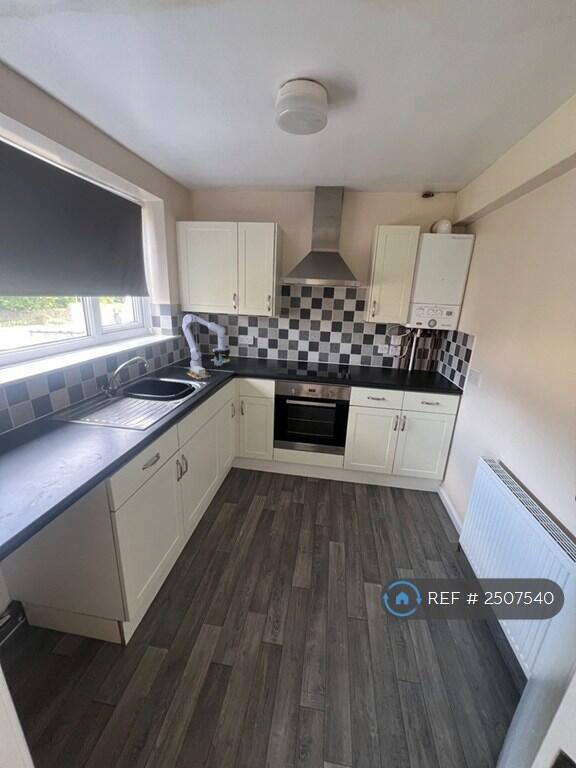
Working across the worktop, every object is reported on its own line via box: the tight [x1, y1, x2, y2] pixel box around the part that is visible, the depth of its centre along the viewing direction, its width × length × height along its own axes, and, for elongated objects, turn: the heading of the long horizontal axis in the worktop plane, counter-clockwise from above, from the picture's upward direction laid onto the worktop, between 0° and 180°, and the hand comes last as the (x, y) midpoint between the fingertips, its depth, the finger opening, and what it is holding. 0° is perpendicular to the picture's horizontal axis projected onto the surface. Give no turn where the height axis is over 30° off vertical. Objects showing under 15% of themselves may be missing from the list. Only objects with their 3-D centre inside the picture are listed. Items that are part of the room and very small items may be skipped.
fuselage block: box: [192, 366, 206, 376], centre depth 224 cm, size 11×5×5 cm, turn 40°
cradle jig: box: [186, 369, 212, 380], centre depth 225 cm, size 18×11×3 cm, turn 40°
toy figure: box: [210, 352, 230, 367], centre depth 255 cm, size 17×10×15 cm, turn 62°
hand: (222, 359), depth 238 cm, fingers open, 7 cm apart
